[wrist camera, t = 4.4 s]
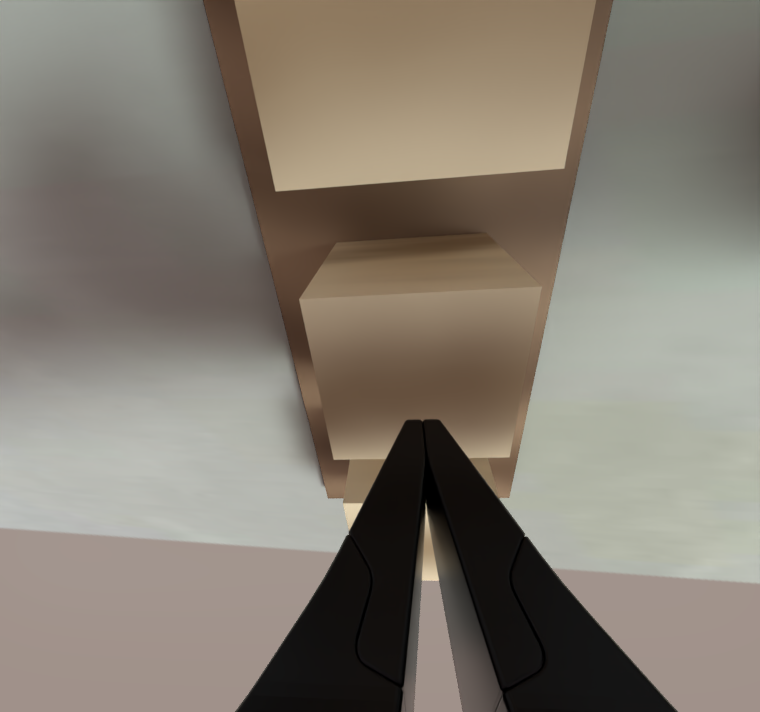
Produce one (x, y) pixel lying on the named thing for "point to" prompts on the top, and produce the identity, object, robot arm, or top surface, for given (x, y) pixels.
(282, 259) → the walnut mat
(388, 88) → the block seven
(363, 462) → the block four
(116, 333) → the top surface
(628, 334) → the top surface
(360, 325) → the plain block
